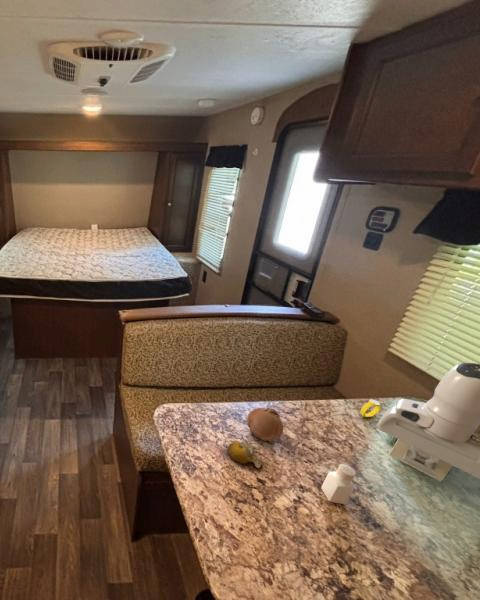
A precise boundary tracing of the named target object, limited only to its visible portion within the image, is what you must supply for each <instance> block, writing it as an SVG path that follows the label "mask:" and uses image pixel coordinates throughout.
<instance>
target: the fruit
mask: <svg viewBox="0 0 480 600" xmlns="http://www.w3.org/2000/svg"><path fill="white" fill-rule="evenodd" d="M253 450H254V447H253V446H252V445H251V444H249V443H244V444H243V443H241V442H240V441H238V440H237V441H233V442H231V443H230V444H229V445H228V447H227V449H226V452H227V454H228V455H229V456H230V457H231V458H232V460H233V461H234V462H236V463H238V464H239V465H241V464H243V465H245V464H248V463H254V466H255V468H256V469H257V470H258V469H260V468H261V467H262V463H261V462H260V460H258V458H257V456H254V455H253V453H254V451H253Z"/></svg>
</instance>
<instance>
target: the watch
mask: <svg viewBox="0 0 480 600" xmlns="http://www.w3.org/2000/svg"><path fill="white" fill-rule="evenodd" d="M371 407H373V409H372V410H371V411H370V412H368V413H367V411H368V410H369V409H371ZM381 407H382V406H381V403H380V402H379V401H378V400H376V399H372V398H370V399H368V402H367V403H365V404H364V405H363V406H362V407H361V409H360V415H361V416H363V417H364V418H373V417H374V416H376V415H377V414H378V413H379V412H380V411H381Z"/></svg>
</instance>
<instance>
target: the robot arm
mask: <svg viewBox="0 0 480 600" xmlns="http://www.w3.org/2000/svg"><path fill="white" fill-rule="evenodd" d="M433 393H434V394H433V396H432V397H431V398H430V399H428V400H427V401H426V403H423V402H418V401H413V400H412V399H408V398H401V399H399V400H398V401H397V403H396V404H395V405H393V406H391V407H389V408H388V409H387V410H386V411H385V412H384V413H383V415H382V416H381V417H380V419H379V421H378V422H377V428H378V430H379V431H381V432H383V433H386V434H388V435H389V436H391V437H392V436H393V437H395V438H397V439H399V440H401V441H404V442H406V443H408V444H410V445H412V446H411V451H412V454H413V455H412V457H411V459H413V460H415V461H417V462H419V463H421V464H423V465H425V466H427V465H428V463H434V462H438V461H439V460H442V461H444V462H446V463H448V464H451V465H453V467H454V468H457V469H458V470H461V471H462V472H465V473H467V474H469V475H471V476H473V477H474V478H477V479H479V480H480V436H477V435H475V434H474V433H475V431H477V429H478V428H479V427H480V363H474V362H460V363H458V364H456V365H454V366H453V367H452V368H450V369H449V371H447V372H446V373H445V374H444V376H443V377H442V378H441V380H440V381H439V383H438V384H437V385H436V387H435V389H434V391H433ZM419 450H422V451H424V452H426V453H428V454H430V455H431V457H427V458H425V457H423V456H421V455H419V454H418V451H419Z"/></svg>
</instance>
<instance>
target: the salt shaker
mask: <svg viewBox="0 0 480 600" xmlns="http://www.w3.org/2000/svg"><path fill="white" fill-rule="evenodd" d="M356 475H357V473H356V471H355V469H353V467H351V466H349V465H347V464H345V463H339V465H338V467H337V468H336V471H329V472H328V473H327V475H326V477H325V478H324V481H323V483H322V484H321V491H322V492H323V494H324V495H325V497H326V498H327V501H329V502H330V503H336V504H342V505H345V504H347V503H348V500H349V499H350V497H351V496H352V494H353V492H354V491H355V485H354V483H353V480H354V478H355V477H356Z"/></svg>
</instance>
